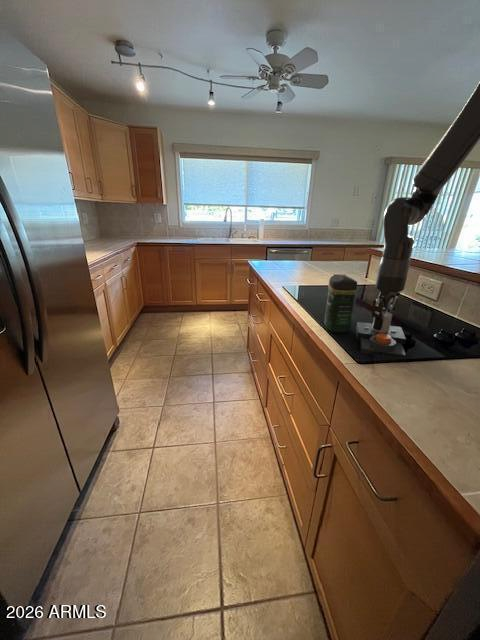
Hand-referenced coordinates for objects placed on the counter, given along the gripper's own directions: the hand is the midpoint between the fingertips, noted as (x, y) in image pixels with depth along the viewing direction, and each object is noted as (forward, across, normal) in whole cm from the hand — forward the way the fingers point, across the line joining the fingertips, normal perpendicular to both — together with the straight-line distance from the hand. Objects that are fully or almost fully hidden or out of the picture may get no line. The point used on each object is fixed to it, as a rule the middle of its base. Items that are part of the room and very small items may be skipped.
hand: (380, 326), depth 82 cm
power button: (+1, -8, -4) cm, 9 cm away
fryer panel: (+4, 0, 0) cm, 4 cm away
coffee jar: (+4, -3, +13) cm, 14 cm away
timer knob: (+1, 0, 0) cm, 1 cm away
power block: (+4, -8, -4) cm, 9 cm away
